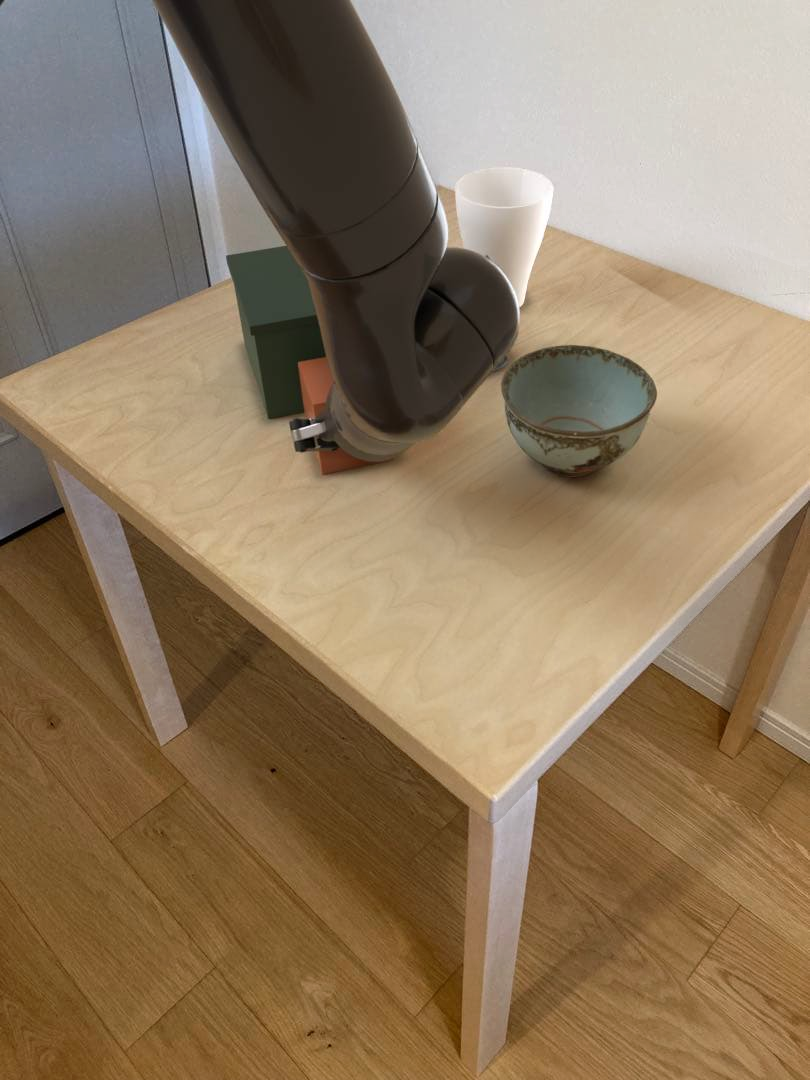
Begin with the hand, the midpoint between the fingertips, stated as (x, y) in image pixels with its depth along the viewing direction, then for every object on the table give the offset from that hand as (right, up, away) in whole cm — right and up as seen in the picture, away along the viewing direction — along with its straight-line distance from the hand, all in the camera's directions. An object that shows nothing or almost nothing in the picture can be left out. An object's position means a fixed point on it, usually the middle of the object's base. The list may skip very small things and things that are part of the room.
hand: (354, 437), depth 81 cm
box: (-4, +9, +15) cm, 18 cm away
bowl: (+20, -2, +4) cm, 20 cm away
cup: (+16, +19, +24) cm, 34 cm away
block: (-1, 0, +6) cm, 6 cm away
